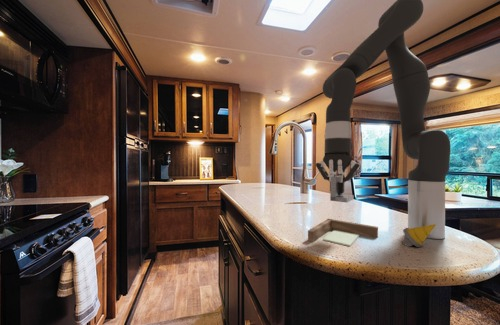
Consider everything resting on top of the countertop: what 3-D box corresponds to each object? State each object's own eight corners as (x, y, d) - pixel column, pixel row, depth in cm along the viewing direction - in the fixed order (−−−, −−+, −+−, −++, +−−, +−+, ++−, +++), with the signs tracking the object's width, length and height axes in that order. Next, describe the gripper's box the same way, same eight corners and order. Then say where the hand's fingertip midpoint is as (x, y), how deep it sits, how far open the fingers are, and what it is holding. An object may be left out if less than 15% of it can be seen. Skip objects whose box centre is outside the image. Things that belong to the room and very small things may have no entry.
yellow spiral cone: (406, 241, 64) (439, 223, 59) (412, 256, 59) (449, 237, 54) (392, 230, 64) (424, 212, 59) (397, 244, 59) (432, 225, 54)
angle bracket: (338, 197, 70) (338, 175, 70) (353, 199, 67) (353, 176, 67) (330, 200, 64) (330, 176, 64) (346, 202, 61) (346, 177, 61)
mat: (334, 231, 72) (334, 229, 72) (359, 235, 67) (359, 234, 67) (322, 240, 63) (322, 238, 63) (350, 246, 59) (350, 244, 59)
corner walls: (328, 227, 76) (328, 218, 76) (377, 236, 67) (377, 226, 67) (307, 240, 62) (308, 230, 62) (366, 255, 53) (367, 243, 53)
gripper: (364, 137, 65) (364, 195, 65) (320, 140, 73) (319, 191, 73) (359, 135, 59) (358, 198, 59) (311, 138, 68) (310, 193, 68)
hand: (336, 194), depth 66 cm, fingers closed on angle bracket, 1 cm apart
